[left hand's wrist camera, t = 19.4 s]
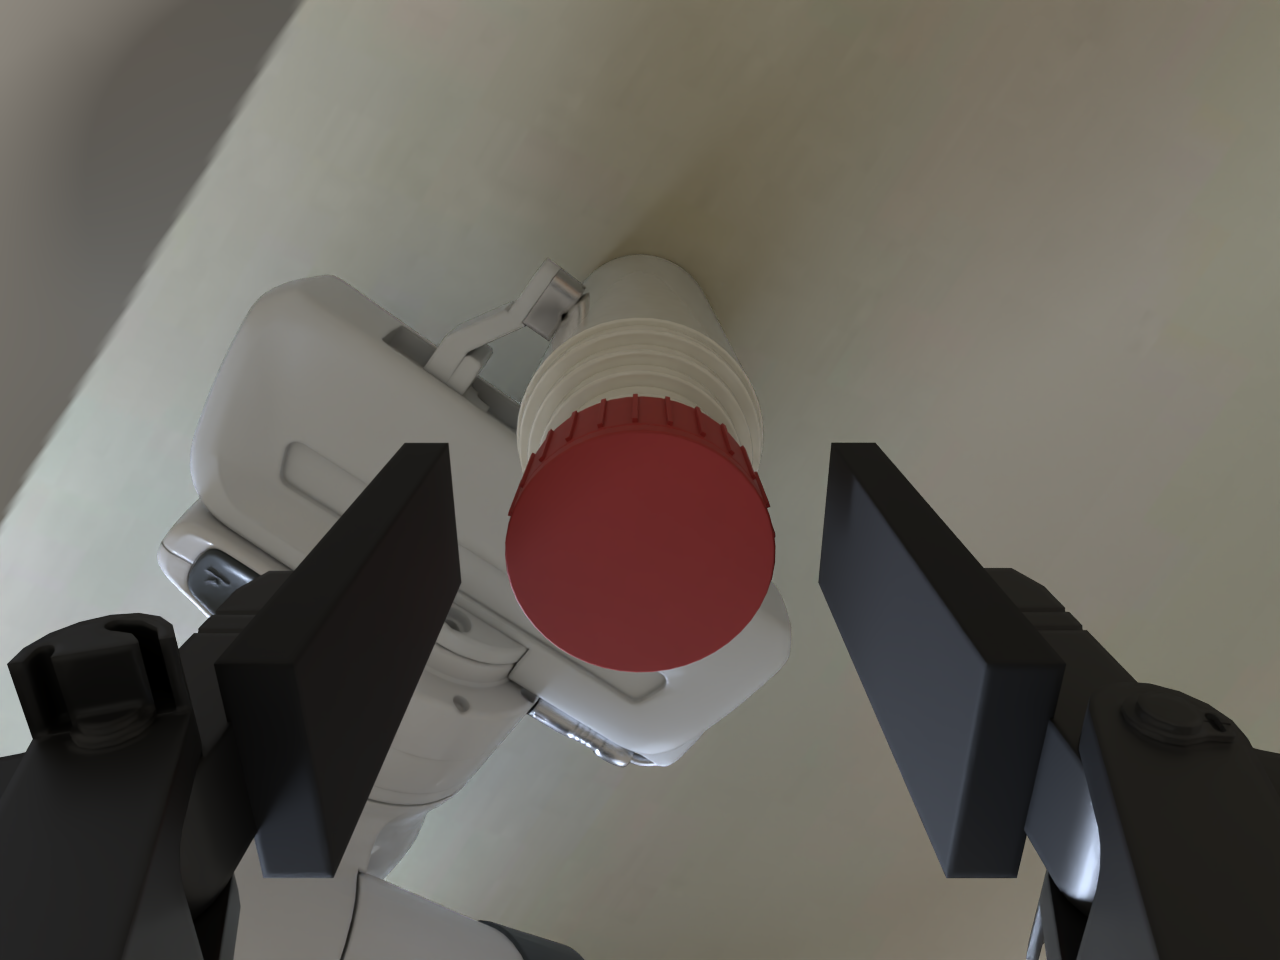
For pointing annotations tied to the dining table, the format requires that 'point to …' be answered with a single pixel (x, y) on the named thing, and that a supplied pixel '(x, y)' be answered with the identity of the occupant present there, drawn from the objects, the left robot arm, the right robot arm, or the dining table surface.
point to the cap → (640, 536)
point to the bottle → (640, 355)
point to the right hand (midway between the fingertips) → (656, 342)
